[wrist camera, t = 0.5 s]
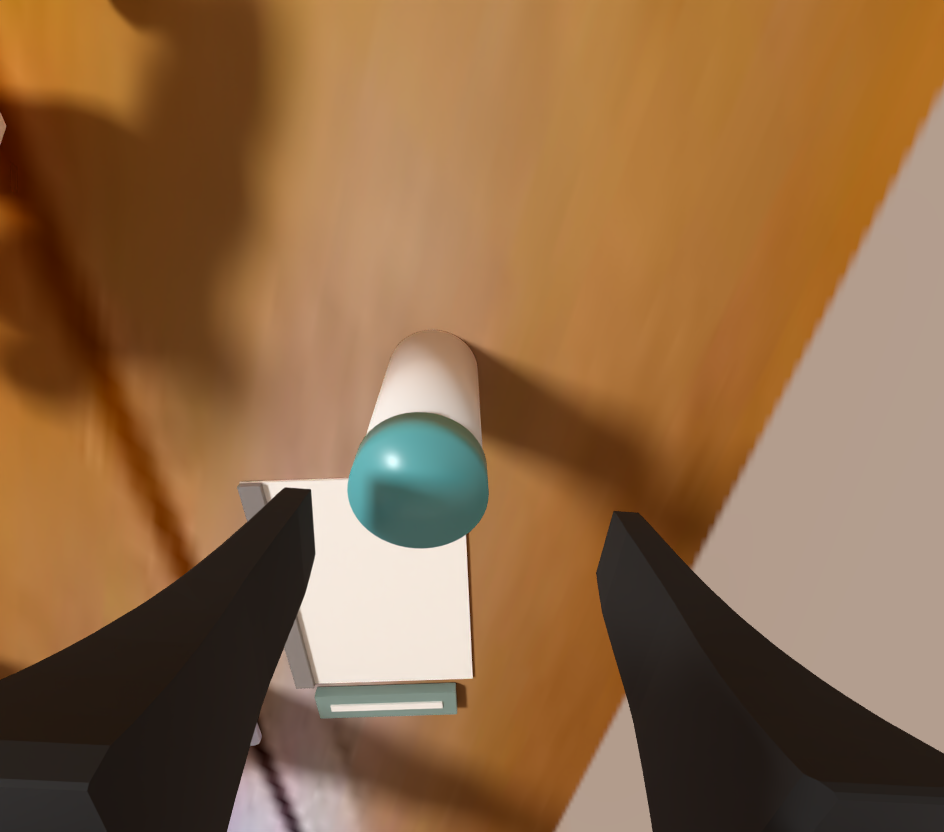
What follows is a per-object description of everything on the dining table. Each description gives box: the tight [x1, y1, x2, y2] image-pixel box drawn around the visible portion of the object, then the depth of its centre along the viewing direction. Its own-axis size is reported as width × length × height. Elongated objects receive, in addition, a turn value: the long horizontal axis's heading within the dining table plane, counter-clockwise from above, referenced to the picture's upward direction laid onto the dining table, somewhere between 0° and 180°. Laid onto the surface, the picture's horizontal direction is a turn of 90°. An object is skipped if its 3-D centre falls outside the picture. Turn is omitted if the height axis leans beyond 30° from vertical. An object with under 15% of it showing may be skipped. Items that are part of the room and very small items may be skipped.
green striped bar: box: [315, 683, 457, 718], centre depth 31 cm, size 8×2×1 cm, turn 92°
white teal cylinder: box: [347, 330, 489, 549], centre depth 18 cm, size 4×4×8 cm
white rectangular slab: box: [237, 478, 473, 689], centre depth 27 cm, size 10×14×1 cm
